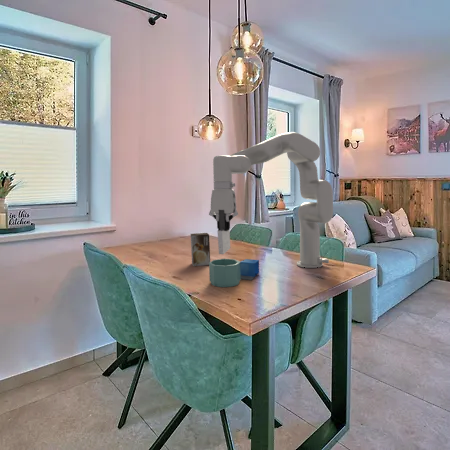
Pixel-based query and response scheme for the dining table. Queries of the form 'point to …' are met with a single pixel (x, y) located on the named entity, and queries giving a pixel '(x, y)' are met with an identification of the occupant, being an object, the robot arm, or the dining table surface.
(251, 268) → the perfume bottle
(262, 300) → the dining table surface
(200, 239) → the coffee box
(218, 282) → the utensil pot
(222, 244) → the brushed metal bar
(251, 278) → the rubber mat
